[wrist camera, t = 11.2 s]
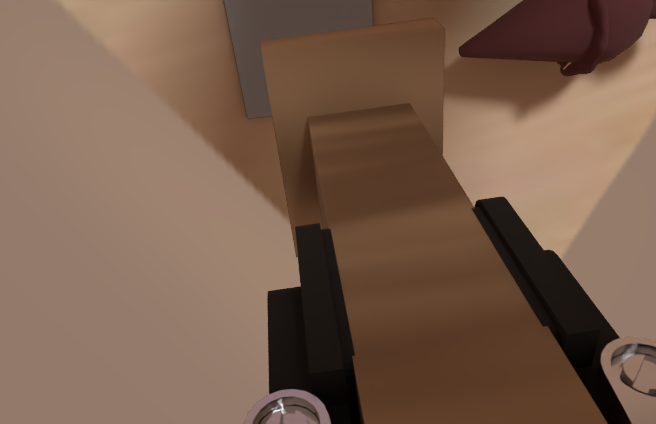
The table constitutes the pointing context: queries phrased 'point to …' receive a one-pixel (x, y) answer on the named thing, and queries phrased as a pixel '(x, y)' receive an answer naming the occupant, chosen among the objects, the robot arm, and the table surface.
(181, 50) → the table surface
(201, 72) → the table surface
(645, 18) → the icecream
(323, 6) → the mat
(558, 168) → the table surface
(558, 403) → the wooden post with base
